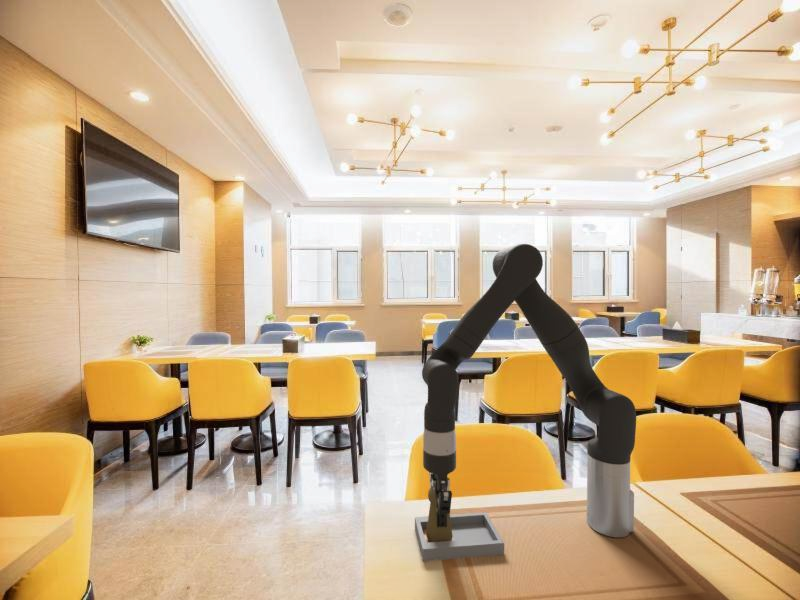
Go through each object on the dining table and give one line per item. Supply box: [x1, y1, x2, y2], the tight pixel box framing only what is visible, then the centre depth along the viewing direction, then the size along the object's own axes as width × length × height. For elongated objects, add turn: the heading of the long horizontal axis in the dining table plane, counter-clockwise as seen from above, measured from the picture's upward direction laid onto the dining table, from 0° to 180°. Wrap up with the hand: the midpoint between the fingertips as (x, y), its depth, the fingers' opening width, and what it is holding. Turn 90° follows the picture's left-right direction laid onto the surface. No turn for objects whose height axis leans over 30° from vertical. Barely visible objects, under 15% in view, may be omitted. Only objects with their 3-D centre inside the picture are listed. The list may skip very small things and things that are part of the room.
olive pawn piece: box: [426, 486, 453, 542], centre depth 86 cm, size 6×6×11 cm
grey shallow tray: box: [414, 511, 505, 562], centre depth 87 cm, size 18×12×3 cm, turn 96°
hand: (439, 520), depth 87 cm, fingers closed on olive pawn piece, 4 cm apart
